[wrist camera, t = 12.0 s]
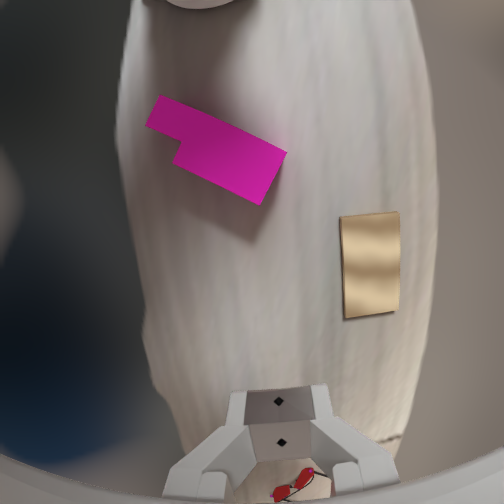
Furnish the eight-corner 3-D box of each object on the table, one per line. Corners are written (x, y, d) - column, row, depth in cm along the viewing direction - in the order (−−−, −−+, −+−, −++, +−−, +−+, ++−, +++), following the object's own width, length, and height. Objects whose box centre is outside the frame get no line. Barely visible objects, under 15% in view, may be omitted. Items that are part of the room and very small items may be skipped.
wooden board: (339, 216, 41) (341, 218, 40) (396, 211, 40) (399, 212, 39) (344, 314, 45) (345, 318, 43) (395, 306, 44) (398, 309, 43)
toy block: (259, 205, 34) (261, 197, 41) (287, 152, 32) (284, 153, 39) (135, 146, 32) (158, 147, 40) (159, 94, 31) (178, 104, 38)
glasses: (309, 460, 55) (311, 478, 50) (364, 477, 57) (367, 493, 52) (269, 487, 58) (268, 504, 54) (323, 503, 60) (324, 518, 56)
